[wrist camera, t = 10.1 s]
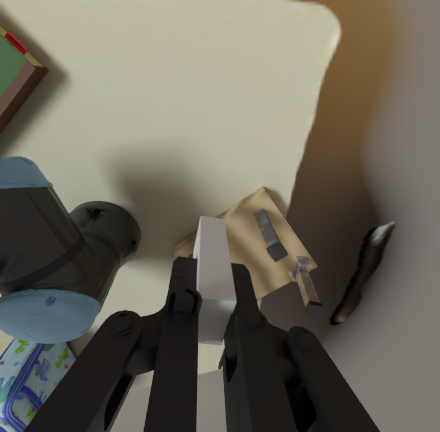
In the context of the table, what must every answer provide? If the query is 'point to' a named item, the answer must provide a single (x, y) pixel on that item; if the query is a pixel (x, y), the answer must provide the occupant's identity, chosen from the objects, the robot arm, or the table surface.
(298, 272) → the hinged leg
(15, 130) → the table surface
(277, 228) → the stool top
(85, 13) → the table surface
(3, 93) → the hardcover book
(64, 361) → the lunch box
